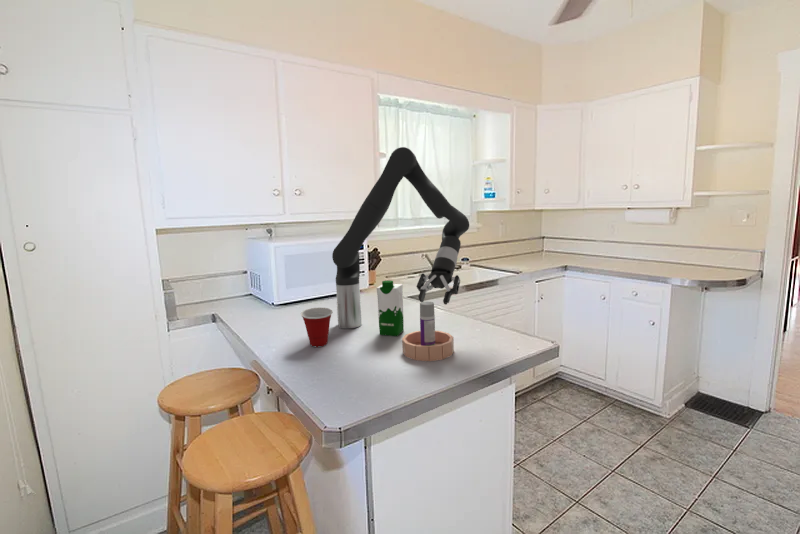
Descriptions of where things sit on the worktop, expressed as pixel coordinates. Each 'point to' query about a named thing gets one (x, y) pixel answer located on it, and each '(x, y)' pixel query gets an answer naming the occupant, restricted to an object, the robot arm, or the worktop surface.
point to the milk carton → (390, 308)
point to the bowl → (428, 353)
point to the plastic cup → (317, 325)
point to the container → (427, 323)
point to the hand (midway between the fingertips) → (432, 302)
